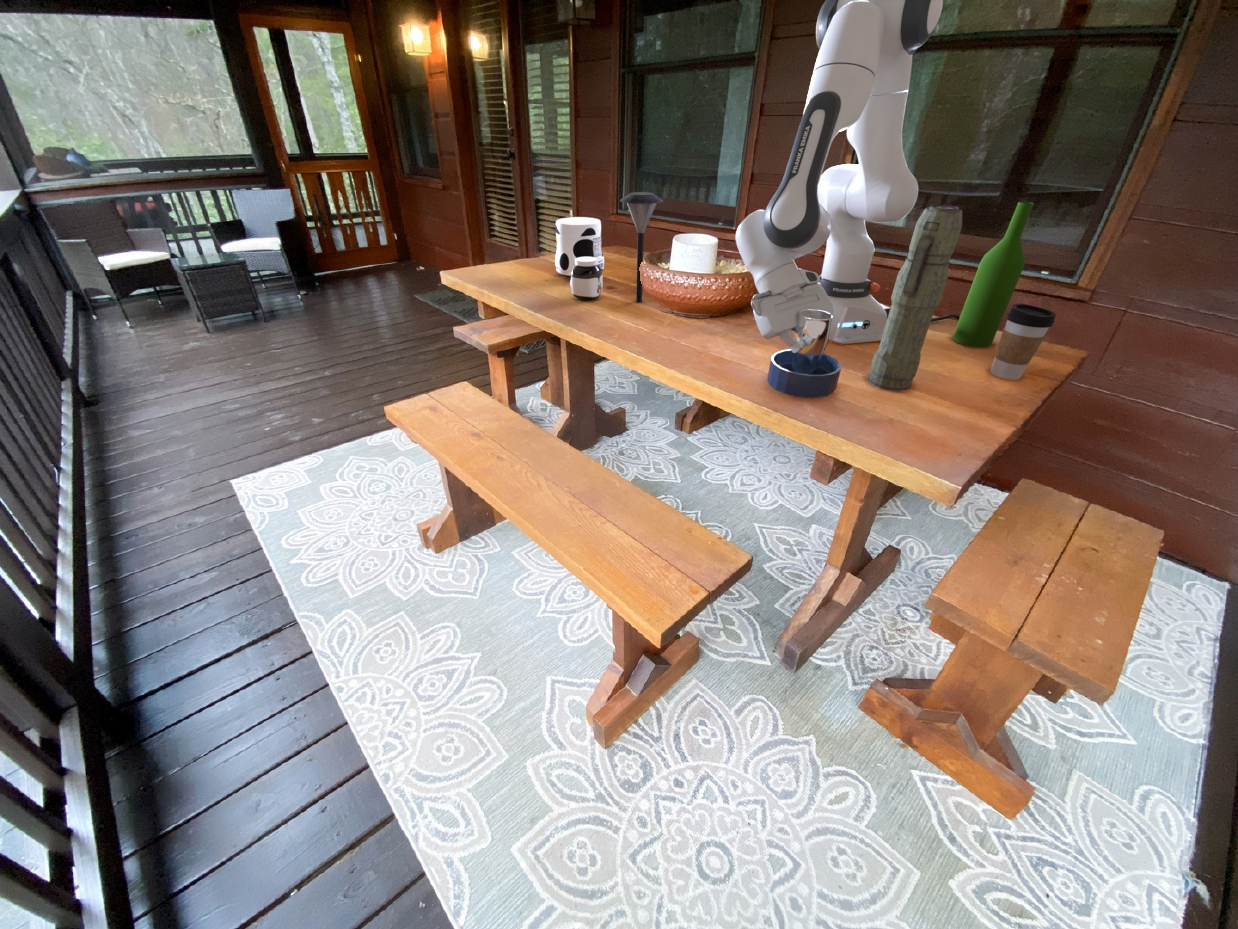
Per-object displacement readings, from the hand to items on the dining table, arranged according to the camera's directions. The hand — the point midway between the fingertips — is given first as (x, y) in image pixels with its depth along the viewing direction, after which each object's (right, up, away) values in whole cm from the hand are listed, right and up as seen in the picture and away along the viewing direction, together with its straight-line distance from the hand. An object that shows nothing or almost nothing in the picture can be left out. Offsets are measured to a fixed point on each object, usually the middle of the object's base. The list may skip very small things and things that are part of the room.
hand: (811, 346), depth 109 cm
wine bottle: (+52, +8, +28) cm, 59 cm away
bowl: (0, -7, +5) cm, 9 cm away
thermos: (+20, -6, +7) cm, 22 cm away
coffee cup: (+48, -4, +11) cm, 49 cm away
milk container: (-54, +43, +80) cm, 106 cm away
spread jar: (-51, +29, +60) cm, 83 cm away
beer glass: (0, -7, +5) cm, 9 cm away
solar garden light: (-33, +26, +55) cm, 70 cm away
